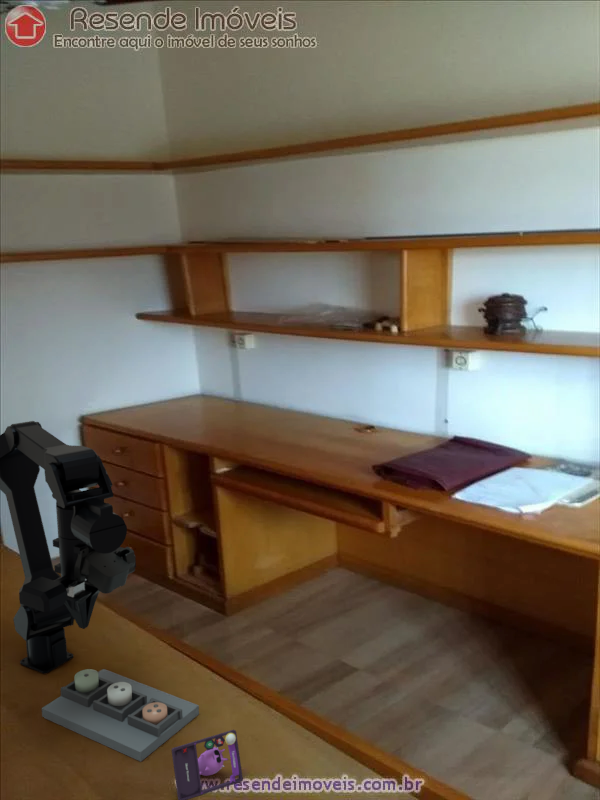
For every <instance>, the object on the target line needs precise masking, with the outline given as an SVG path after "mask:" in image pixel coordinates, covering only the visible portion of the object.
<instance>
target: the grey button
mask: <svg viewBox="0 0 600 800" xmlns="http://www.w3.org/2000/svg"><path fill="white" fill-rule="evenodd" d="M107 694H108V703H109V704H110V705H113V706H123V705H126V704H128V703H129V702H130V701H131V700H132V687H131V685H130V684H129V683H127V682H117V683H114V684H112V685H110V686H109V687H108V689H107Z"/></svg>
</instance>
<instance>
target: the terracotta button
mask: <svg viewBox="0 0 600 800" xmlns="http://www.w3.org/2000/svg"><path fill="white" fill-rule="evenodd" d="M142 713H143V720H145V721H147V722H150V723H152V724H154V725H157V724H159V723H160V722H161V721H162V720H164V719H165V718H166V717H167V706H166V705H165V704H163V703H160V702H154V703H150V704H147V705H146V706H145V707H144V708H143V710H142Z"/></svg>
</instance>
